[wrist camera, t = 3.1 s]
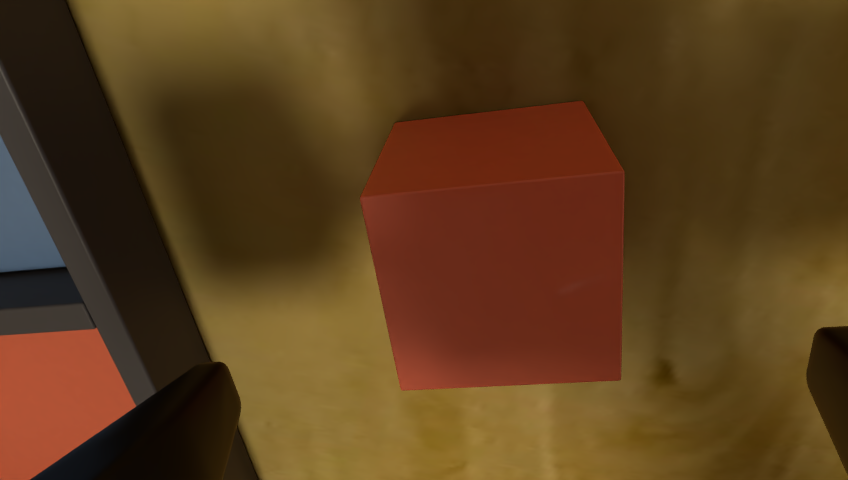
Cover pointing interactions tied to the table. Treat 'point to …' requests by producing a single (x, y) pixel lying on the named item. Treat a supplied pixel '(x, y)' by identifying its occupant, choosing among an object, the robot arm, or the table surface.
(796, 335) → the table surface
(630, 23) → the table surface
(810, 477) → the table surface
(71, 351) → the tray
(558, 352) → the terracotta block
